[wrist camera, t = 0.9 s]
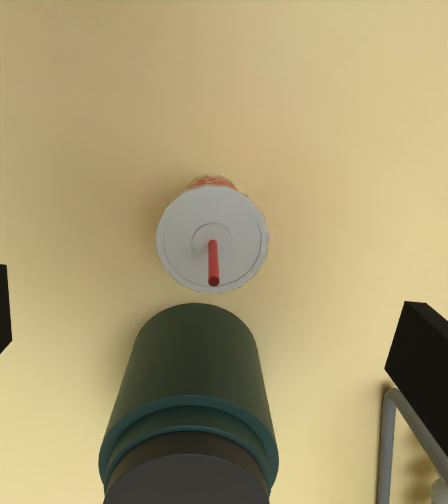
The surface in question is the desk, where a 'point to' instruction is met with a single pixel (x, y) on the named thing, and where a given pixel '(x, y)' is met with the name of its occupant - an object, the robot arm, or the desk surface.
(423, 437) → the newton's cradle
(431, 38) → the desk surface
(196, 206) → the beverage cup
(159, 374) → the green lidded canister
